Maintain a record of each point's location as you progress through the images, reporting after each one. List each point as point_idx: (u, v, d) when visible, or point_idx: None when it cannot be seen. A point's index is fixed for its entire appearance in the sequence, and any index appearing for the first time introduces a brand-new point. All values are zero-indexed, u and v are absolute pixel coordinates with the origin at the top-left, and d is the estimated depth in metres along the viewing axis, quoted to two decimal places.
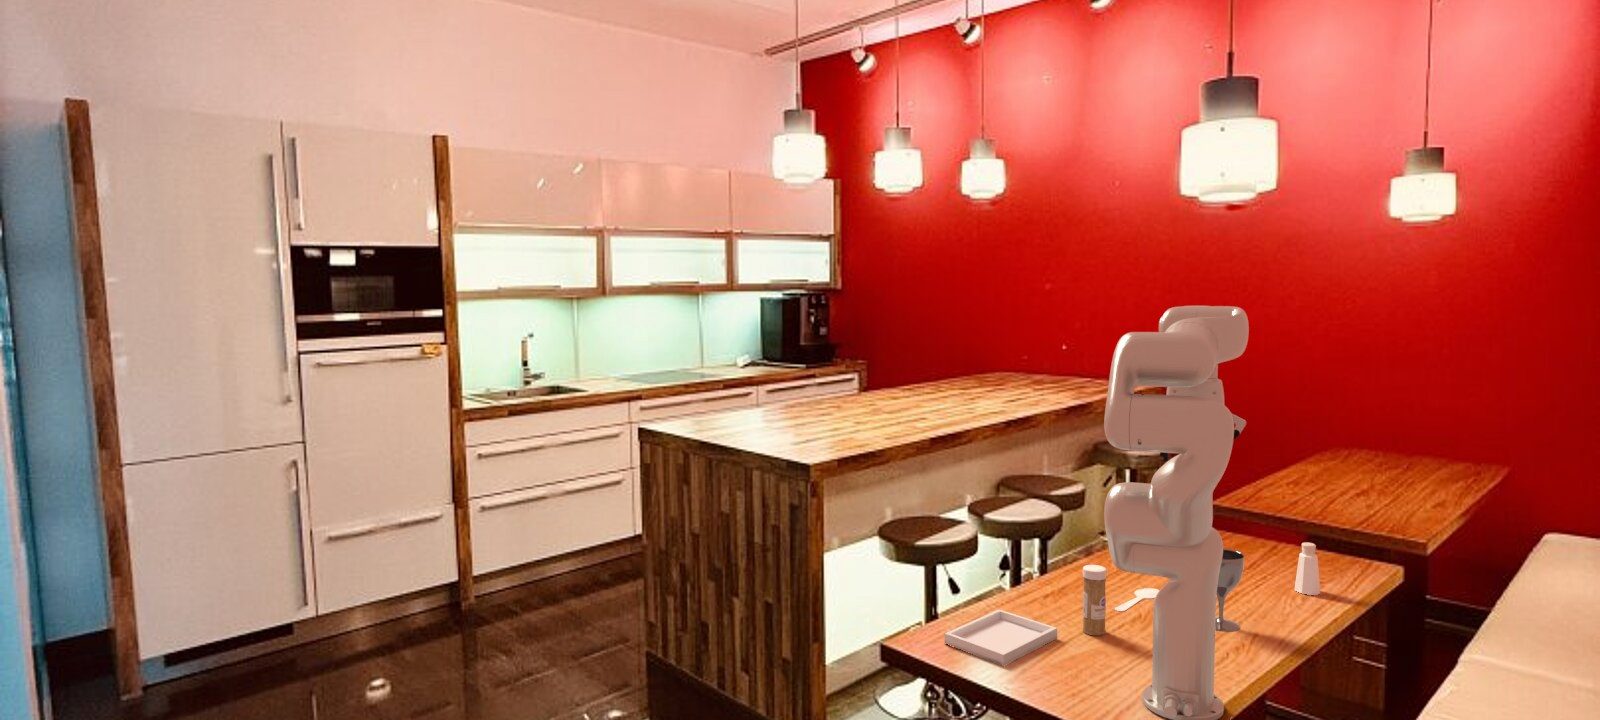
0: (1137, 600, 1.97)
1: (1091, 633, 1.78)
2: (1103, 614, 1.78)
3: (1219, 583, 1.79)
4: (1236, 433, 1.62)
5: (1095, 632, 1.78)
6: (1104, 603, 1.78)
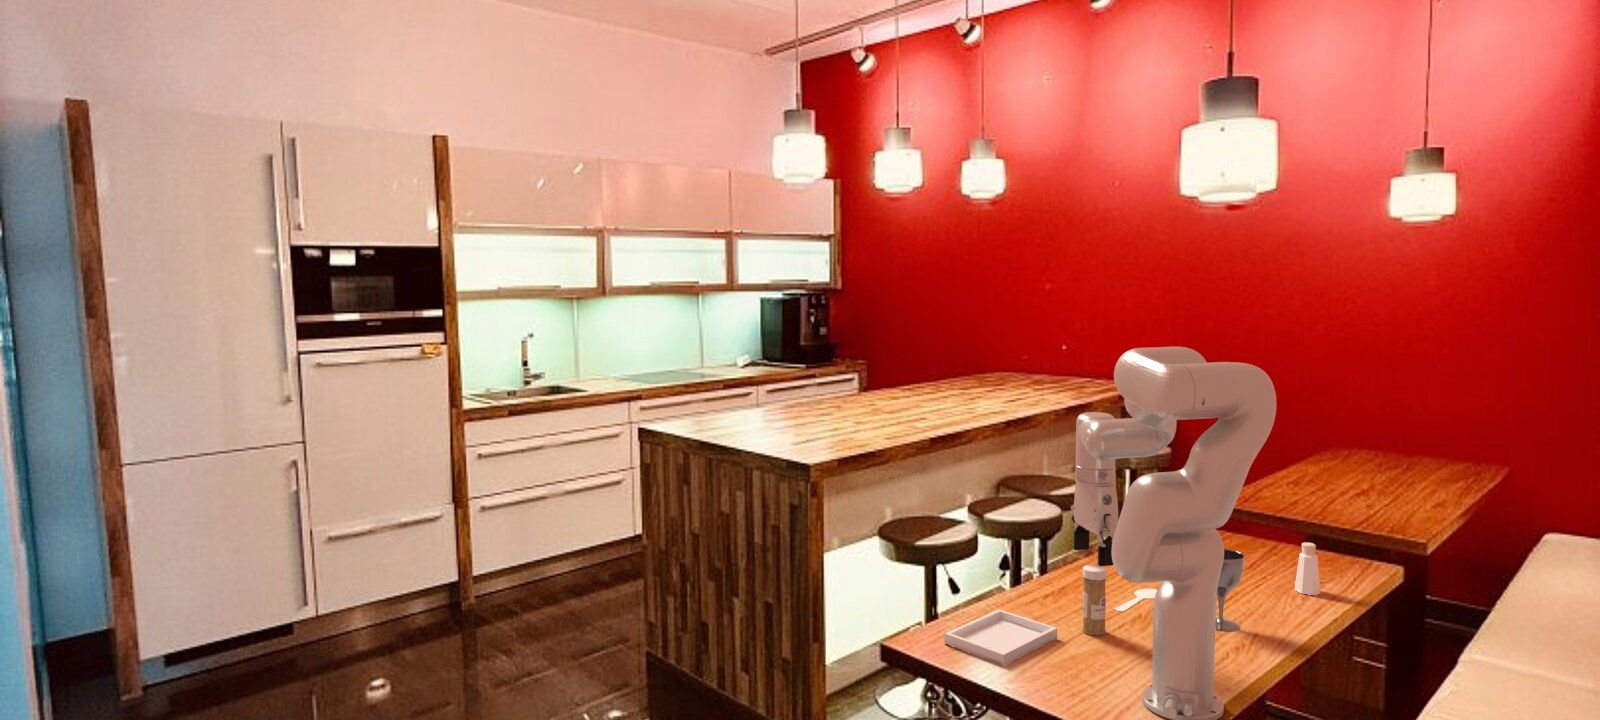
0: (1137, 600, 1.97)
1: (1091, 633, 1.78)
2: (1103, 614, 1.78)
3: (1219, 583, 1.79)
4: None
5: (1095, 632, 1.78)
6: (1104, 603, 1.78)
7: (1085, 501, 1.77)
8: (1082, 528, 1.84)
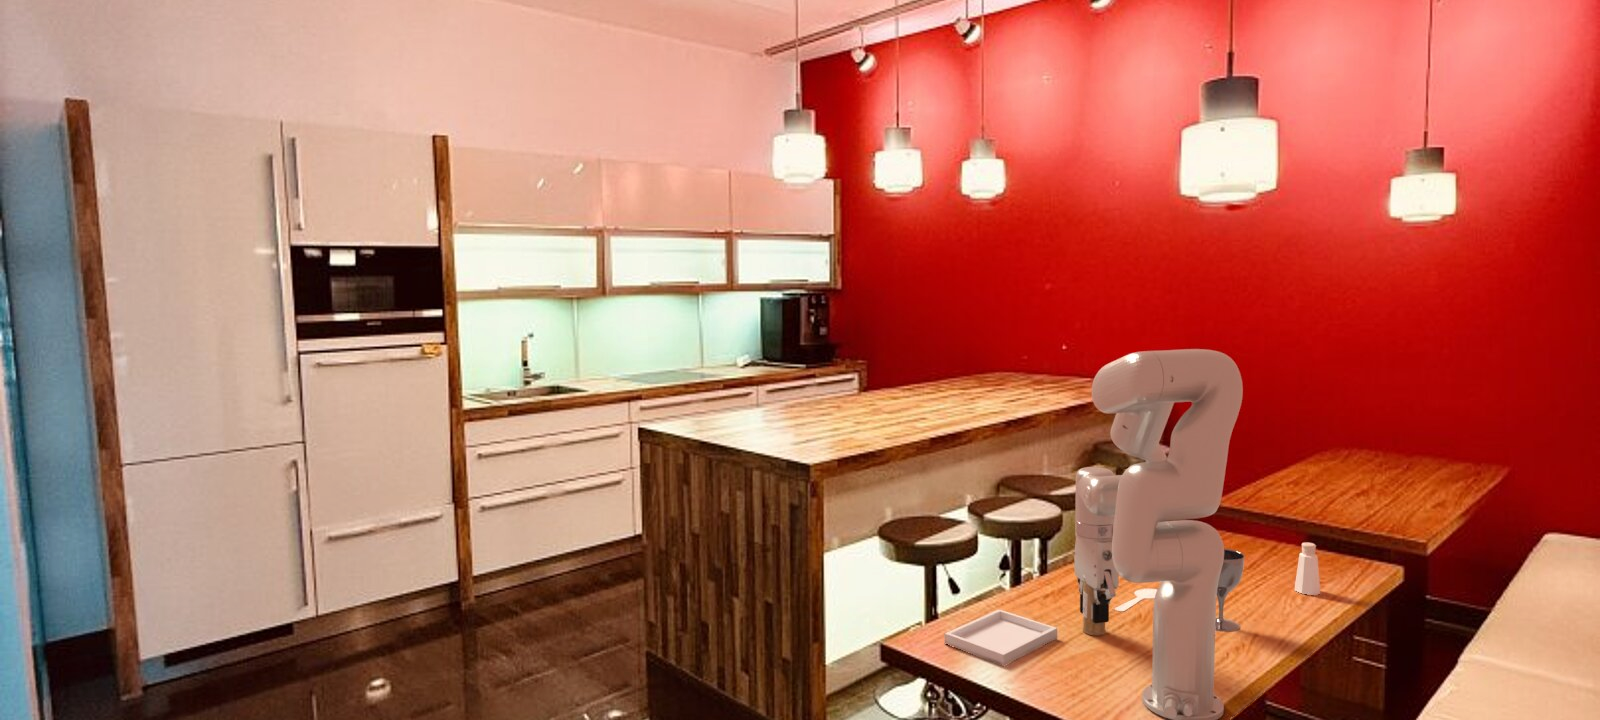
0: (1137, 600, 1.97)
1: (1091, 633, 1.78)
2: None
3: (1219, 583, 1.79)
4: None
5: (1095, 632, 1.78)
6: None
7: (1085, 556, 1.78)
8: None
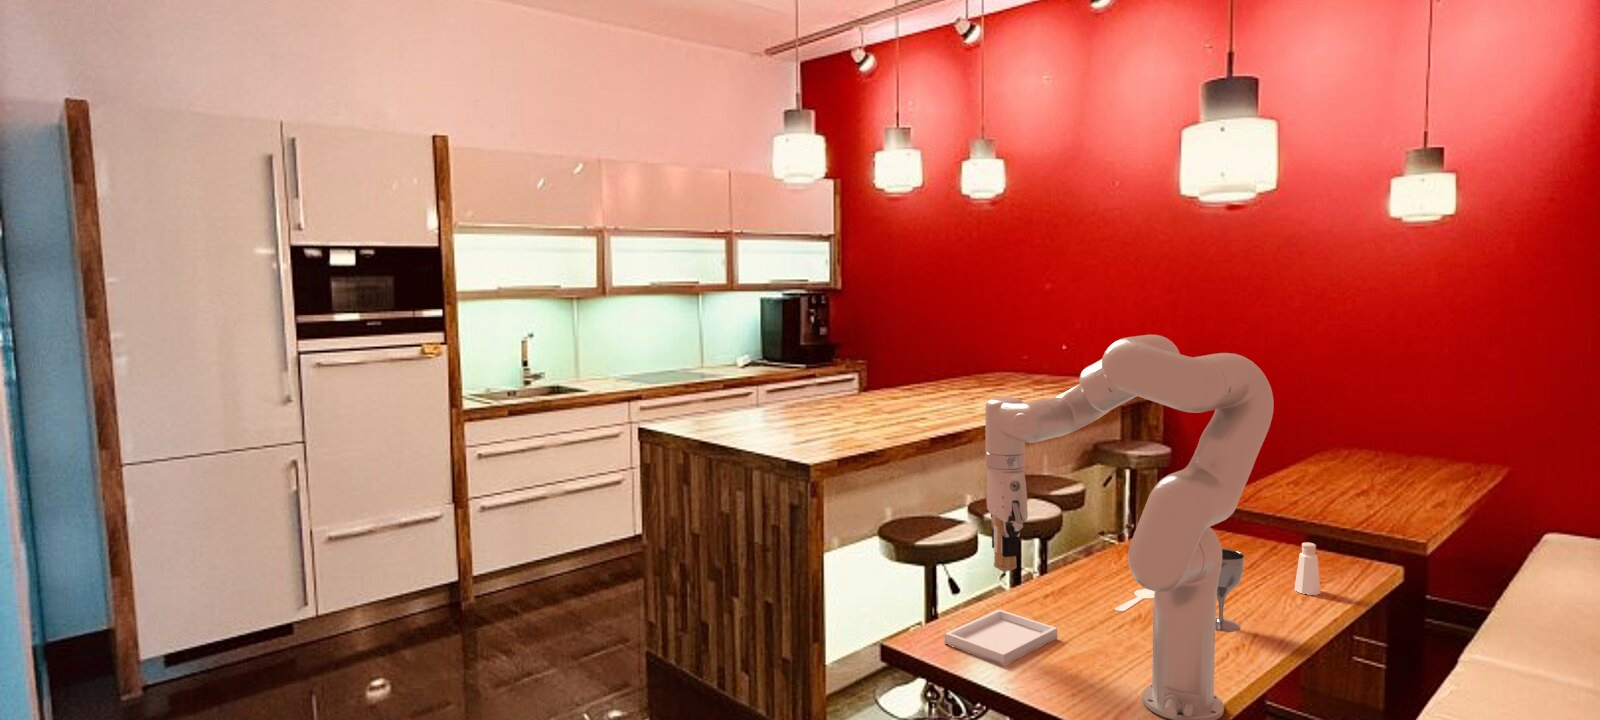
0: (1137, 600, 1.97)
1: (1001, 568, 1.74)
2: None
3: (1219, 583, 1.79)
4: None
5: (1005, 566, 1.73)
6: None
7: (995, 488, 1.73)
8: None
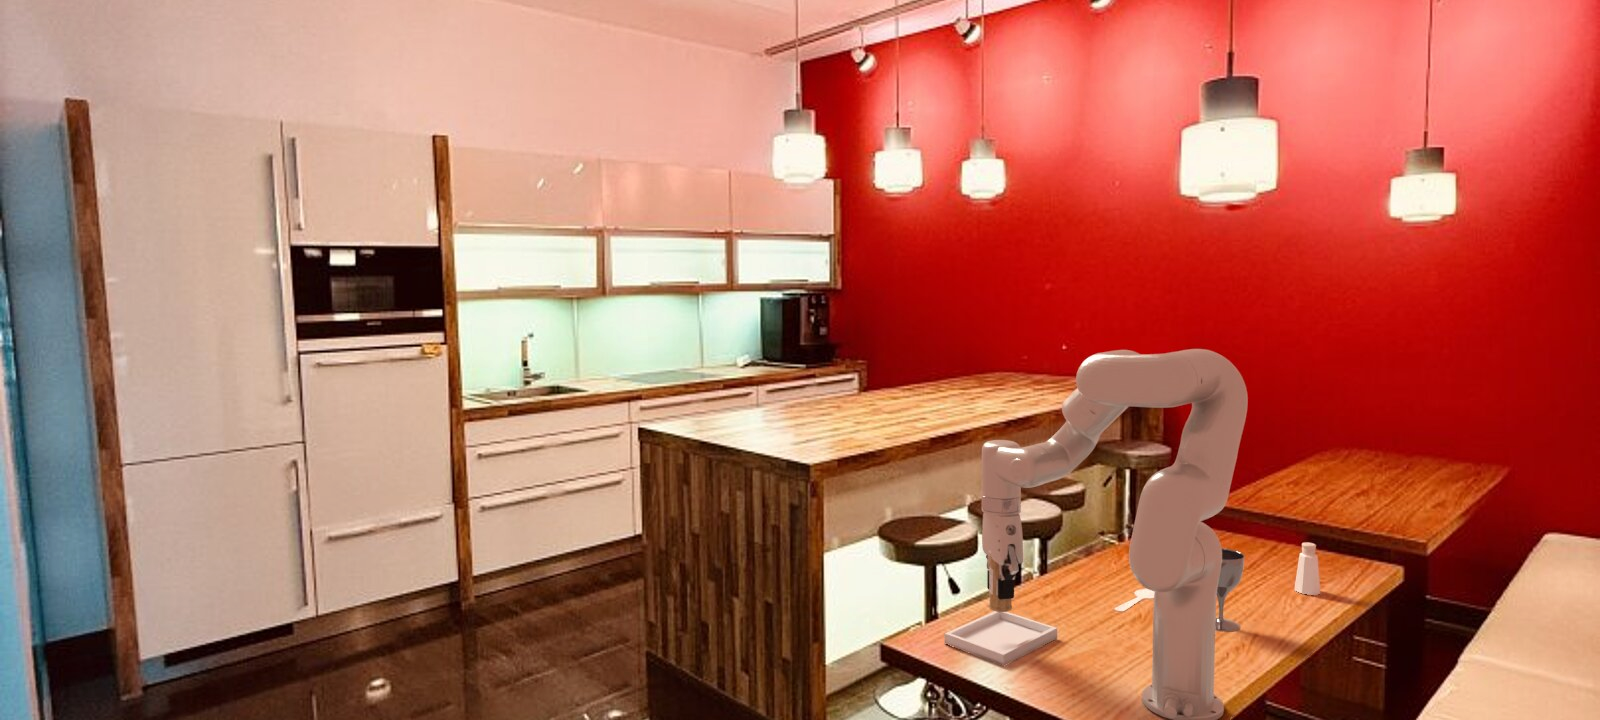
0: (1137, 600, 1.97)
1: (997, 610, 1.74)
2: None
3: (1219, 583, 1.79)
4: None
5: (1000, 608, 1.74)
6: None
7: (990, 531, 1.73)
8: None
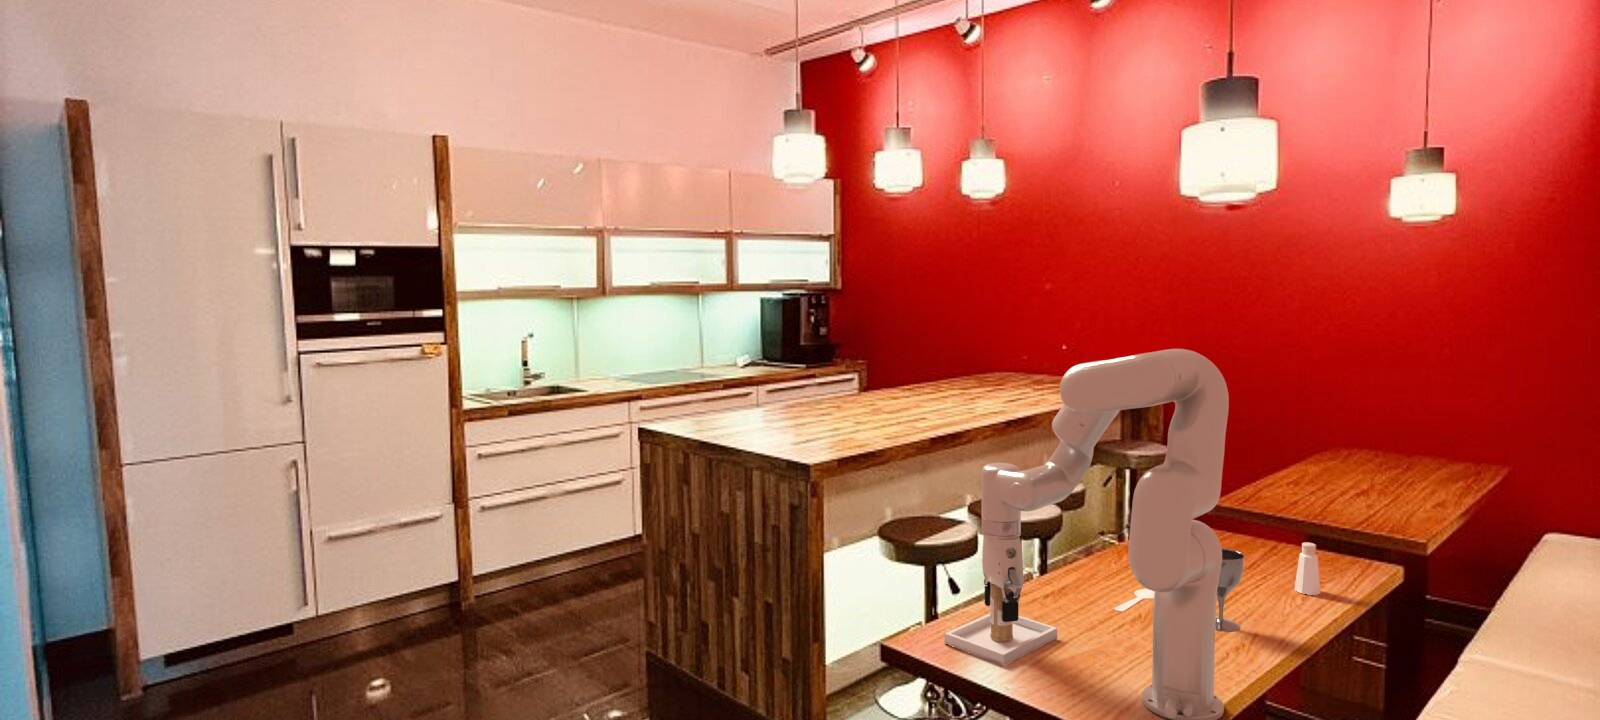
0: (1137, 600, 1.97)
1: (998, 640, 1.75)
2: None
3: (1219, 583, 1.79)
4: None
5: (1001, 638, 1.75)
6: None
7: (991, 554, 1.74)
8: None
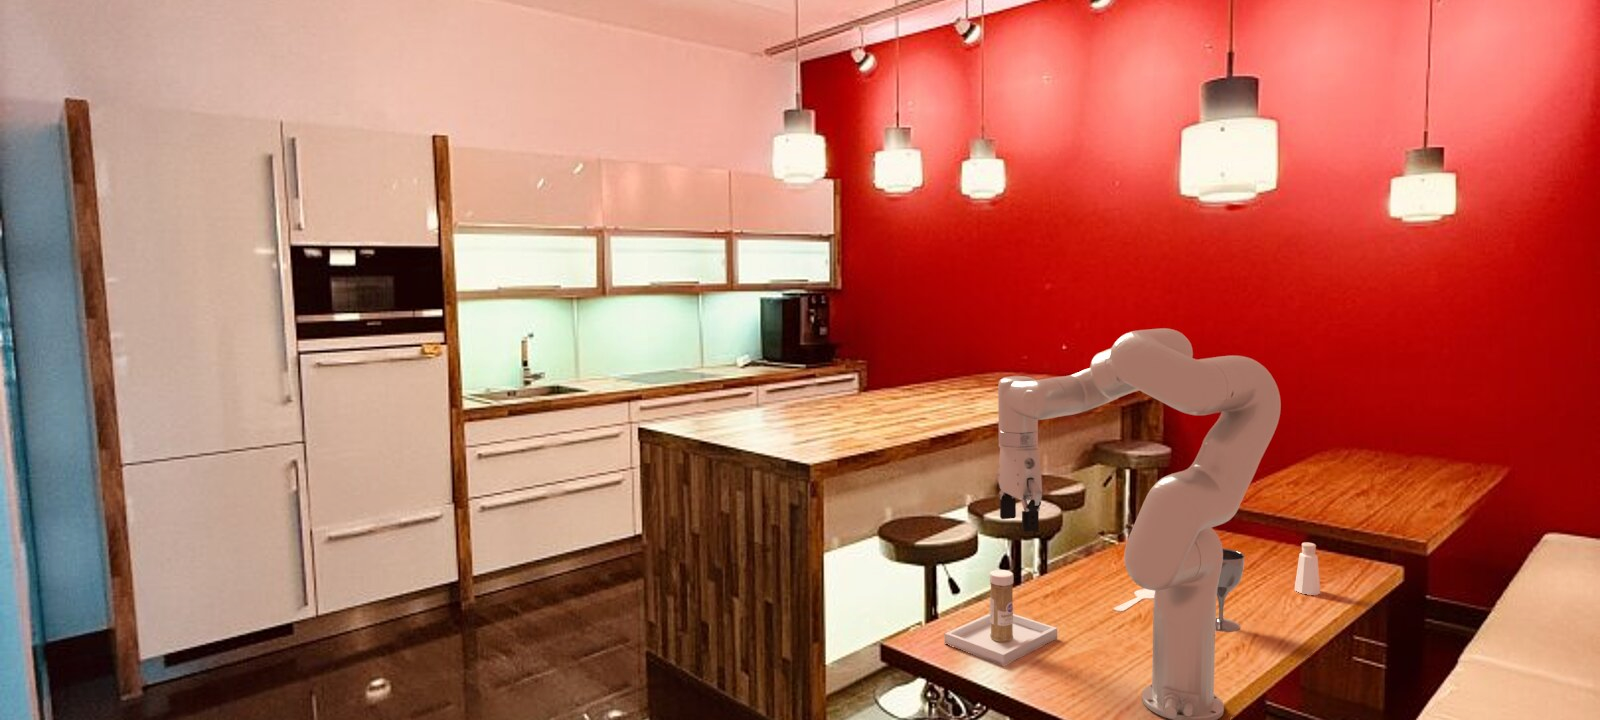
0: (1137, 600, 1.97)
1: (998, 640, 1.75)
2: (1010, 620, 1.75)
3: (1219, 583, 1.79)
4: None
5: (1002, 638, 1.75)
6: (1011, 609, 1.75)
7: (1008, 466, 1.74)
8: (1008, 496, 1.81)
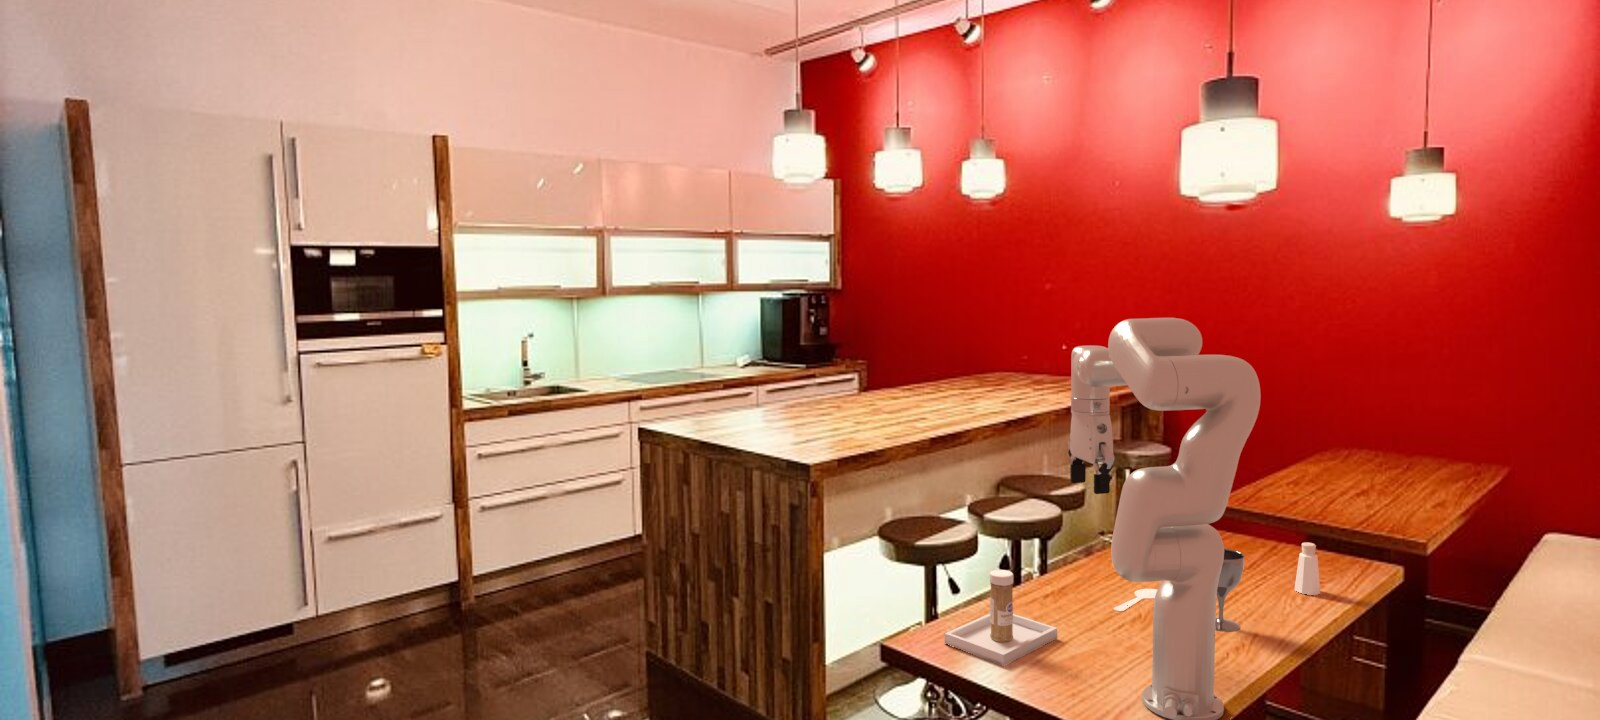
0: (1137, 600, 1.97)
1: (998, 640, 1.75)
2: (1010, 620, 1.75)
3: (1219, 583, 1.79)
4: None
5: (1002, 638, 1.75)
6: (1011, 609, 1.75)
7: (1081, 431, 1.81)
8: (1078, 461, 1.88)
